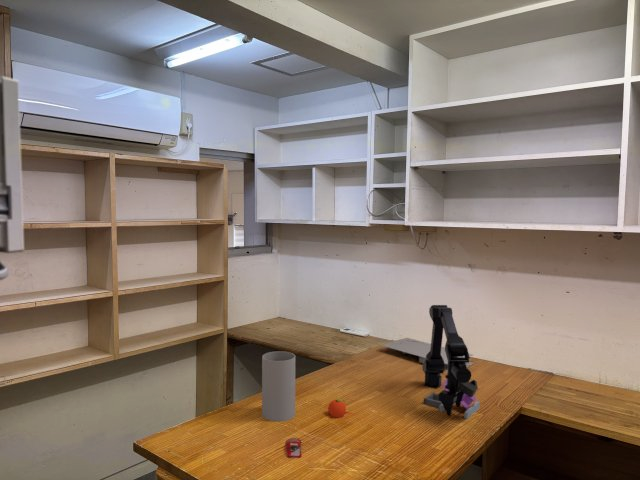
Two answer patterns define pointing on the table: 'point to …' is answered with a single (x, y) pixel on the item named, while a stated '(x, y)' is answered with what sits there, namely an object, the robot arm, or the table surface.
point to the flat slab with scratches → (418, 349)
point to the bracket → (465, 400)
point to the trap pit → (432, 400)
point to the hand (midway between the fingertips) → (453, 411)
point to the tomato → (337, 408)
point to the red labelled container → (293, 448)
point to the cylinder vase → (278, 386)
